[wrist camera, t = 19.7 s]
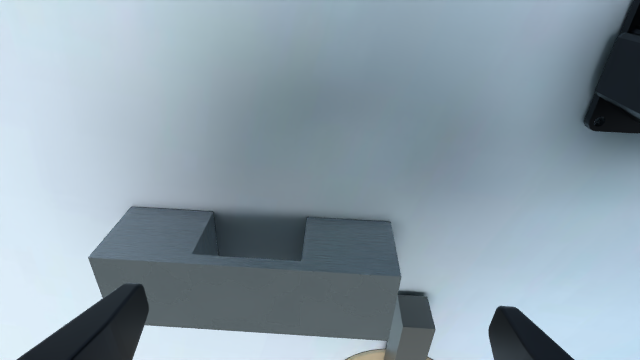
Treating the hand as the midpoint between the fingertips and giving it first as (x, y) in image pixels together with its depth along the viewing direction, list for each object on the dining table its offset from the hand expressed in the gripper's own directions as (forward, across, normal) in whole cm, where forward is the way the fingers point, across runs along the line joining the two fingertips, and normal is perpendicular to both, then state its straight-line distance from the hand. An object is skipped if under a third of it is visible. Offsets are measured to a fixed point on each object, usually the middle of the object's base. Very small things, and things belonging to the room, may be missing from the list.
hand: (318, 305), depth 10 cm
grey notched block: (+12, +4, +8) cm, 15 cm away
